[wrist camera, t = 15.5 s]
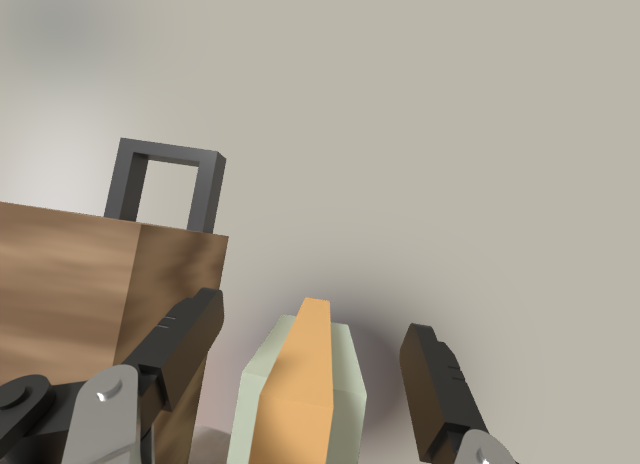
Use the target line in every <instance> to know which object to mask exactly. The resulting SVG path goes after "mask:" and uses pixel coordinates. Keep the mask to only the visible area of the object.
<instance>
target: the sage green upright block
mask: <svg viewBox="0 0 640 464" xmlns="http://www.w3.org/2000/svg"><path fill="white" fill-rule="evenodd" d="M295 319H296V316H290V315H285V314H283V315H282V316H281V317H280V319H279V320H278V322H277V323H276V325H275V326H274V327H273V329H272V330H271V332H270V333H269V335H268V336H267V337H266V339H265V340H264V342H263V343H262V345H261V346H260V348H259V349H258V350H257V352H256V353H255V355H254V356H253V358H252V359H251V361H250V362H249V363H248V365H247V366H246V368H245V369H244V371H243V372H242V375H241V381H240V387H239V393H238V399H237V405H236V411H235V416H234V422H233V428H232V434H231V440H230V446H229V451H228V457H227V463H226V464H248V462H249V456H250V450H251V444H252V437H253V431H254V425H255V419H256V413H257V407H258V401H259V395H260V393H261V391H262V388H263V386H264V384H265V382H266V380H267V378H268V376H269V374H270V371H271V369H272V367H273V365H274V363H275V361H276V359H277V357H278V355H279V352H280V350H281V348H282V346H283V344H284V342H285V340H286V338H287V335H288V333H289V331H290V329H291V327H292V325H293V323H294V321H295ZM330 325H331V353H332V380H333V415H332V422H331V429H330V436H329V443H328V450H327V456H326V463H325V464H358V458H359V450H360V442H361V435H362V428H363V421H364V414H365V406H366V399H367V393H366V390H365V386H364V382H363V379H362V375H361V371H360V368H359V364H358V360H357V357H356V353H355V349H354V346H353V342H352V339H351V335H350V331H349V327H348V325H344V324H339V323H332V322H330Z"/></svg>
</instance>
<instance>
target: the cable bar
mask: <svg viewBox="0 0 640 464" xmlns="http://www.w3.org/2000/svg"><path fill="white" fill-rule="evenodd" d="M332 415H333V380H332V353H331V325H330V301H326V300H319V299H314V298H308V297H306V298H305V299H304V302H303V304H302V306H301V308H300V310H299V312H298V314H297V316H296V319H295V321H294V323H293V325H292V327H291V329H290V331H289V333H288V335H287V338H286V340H285V342H284V344H283V346H282V348H281V350H280V352H279V355H278V357H277V359H276V361H275V363H274V365H273V367H272V369H271V371H270V374H269V376H268V378H267V380H266V382H265V384H264V386H263V388H262V391H261V393H260V395H259V401H258V407H257V413H256V419H255V425H254V431H253V437H252V444H251V450H250V456H249V462H248V464H325V463H326V456H327V450H328V443H329V436H330V429H331V422H332Z"/></svg>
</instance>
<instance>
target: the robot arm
mask: <svg viewBox="0 0 640 464" xmlns="http://www.w3.org/2000/svg"><path fill="white" fill-rule="evenodd" d="M223 321H224V307H223V293H222V291H221V290H218V289H212V288H206V287H203V288H201V289H200V290H199V291H198V292H197V294H196V295H195V296H194V297H193V298H188V297H187V298H185V299H184V300H182V301H180V302H179V303H177V304H176V305H174V306H173V307H172V308H171V309H170V311H169V312H168V313H167V314H166V315H165V317H164V318H162V319H161V321H160V322H159V323H158V324H157V326H155V327H154V328H153V329H152V330H151V332H150V333H149V334H148V335H147V336H146V337H145V338H144V339H143V340H142V342H141V343H140V344H139V345H138V346H137V347H136V348H135V349H134V350H133V351H132V353H131V354H130V355H129V356H128V357H127V358H126V359H125V360H124V361H123V362H122V363H121V364H120V365H115V366H112V367H109V368H106V369H104V370H102V371H100V372H99V373H97V374H96V375H94V376H93V377H91V378H90V379H89V380H87V381H81V382H73V383H66V384H59V385H51V383H50V382H49V380H48V379H47V377H45V376H43V375H39V374H33V375H27V376H22V377H19V378H16V379H14V380H11V381H9V382H7V383H5V384H3V385H1V386H0V460H1V459H2V458H3V459H2V460H1V461H0V464H155V454H154V421H155V419H156V417H157V416H158V414H159V413H160V411H161V410H162V411H167V412H173V410H174V409H175V407H176V405H177V404H178V402H179V400H180V398H181V397H182V395H183V393H184V392H185V390H186V388H187V387H188V385H189V383H190V381H191V380H192V378H193V376H194V375H195V373H196V371H197V370H198V368H199V366H200V364H201V363H202V361H203V359H204V358H205V356H206V354H207V353H208V351H209V349H210V348H211V346H212V344H213V342H214V341H215V339H216V337H217V335H218V334H219V332H220V330H221V328H222V325H223ZM400 366H401V370H402V376H403V381H404V386H405V391H406V395H407V400H408V405H409V410H410V415H411V420H412V425H413V430H414V434H415V439H416V444H417V449H418V453H419V459H420V461H421V462H426V463H432V464H519V463H517V462H516V461H514V459H513V457H512V456H511V455H510V453H509V451H508V450H507V449H506V448H505V447H504V446H503V445H502V444H501V443H500V442H499V441H498V440H497V439H496V438H494V437H493V436H492V435H490V434H489V432H488V430H487V428H486V426H485V424H484V421H483V419H482V417H481V414H480V412H479V410H478V407H477V405H476V403H475V401H474V398H473V396H472V394H471V391H470V389H469V387H468V385H467V383H466V382H465V378H464V375H463V373H462V371H460V366H459V364H458V362H457V360H456V357H455V355H454V354H453V353H452V351H451V350H450V349H449V348H448V346H447V345H446V344H445V343H444V342H439V341H437V338H436V335H435V333H434V330H433V329H432V327H431V326H426V325H419V324H414V323H412V324H410V326H409V328H408V331H407V333H406V336H405V338H404V341H403V344H402V346H401V349H400Z"/></svg>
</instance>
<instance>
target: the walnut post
mask: <svg viewBox="0 0 640 464" xmlns="http://www.w3.org/2000/svg"><path fill="white" fill-rule="evenodd" d="M228 238H229V237H228V236H223V235H217V234H210V233H203V232H196V231H190V230H184V229H178V228H172V227H165V226H159V225H153V224H146V223H140V222H133V221H126V220H119V219H113V218H107V217H101V216H93V215H87V214H80V213H74V212H67V211H60V210H53V209H46V208H40V207H33V206H26V205H19V204H13V203H6V202H0V386H1V385H3V384H5V383H7V382H9V381H11V380H14V379H16V378H19V377H22V376H27V375H33V374H39V375H43V376H45V377H47V379H48V380H49V382H50V383H51V385H59V384H66V383H73V382H81V381H87V380H89V379H90V378H91V377H93V376H94V375H96V374H97V373H99V372H100V371H102V370H104V369H106V368H109V367H112V366H115V365H120V364H121V363H122V362H123V361H124V360H125V359H126V358H127V357H128V356H129V355H130V354H131V353H132V351H133V350H134V349H135V348H136V347H137V346H138V345H139V344H140V343H141V342H142V340H143V339H144V338H145V337H146V336H147V335H148V334H149V333H150V332H151V330H152V329H153V328H154V327H155V326H157V324H158V323H159V322H160V321H161V319H162V318H164V317H165V315H166V314H167V313H168V312H169V311H170V309H171V308H172V307H173V306H174V305H176V304H177V303H179V302H180V301H182V300H184V299H185V298H187V297H188V298H193V297H194V296H195V295H196V294H197V292H198V291H199V290H200V289H201V288H203V287H206V288H212V289H218V290H219V287H220V282H221V276H222V270H223V265H224V260H225V254H226V249H227V243H228ZM207 354H208V353H207ZM207 354H206V356H205V358H204V359H203V361H202V363H201V364H200V366H199V368H198V370H197V371H196V373H195V375H194V376H193V378H192V380H191V381H190V383H189V385H188V387H187V388H186V390H185V392H184V393H183V395H182V397H181V398H180V400H179V402H178V404H177V405H176V407H175V409H174V410H173V412H167V411H162V410H161V411H160V413H159V414H158V416H157V417H156V419H155V421H154V454H155V464H188V459H189V453H190V448H191V442H192V436H193V431H194V425H195V420H196V414H197V408H198V403H199V398H200V392H201V386H202V381H203V375H204V370H205V365H206V359H207ZM2 459H3V458H2ZM2 459H1V460H2ZM1 460H0V461H1Z"/></svg>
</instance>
